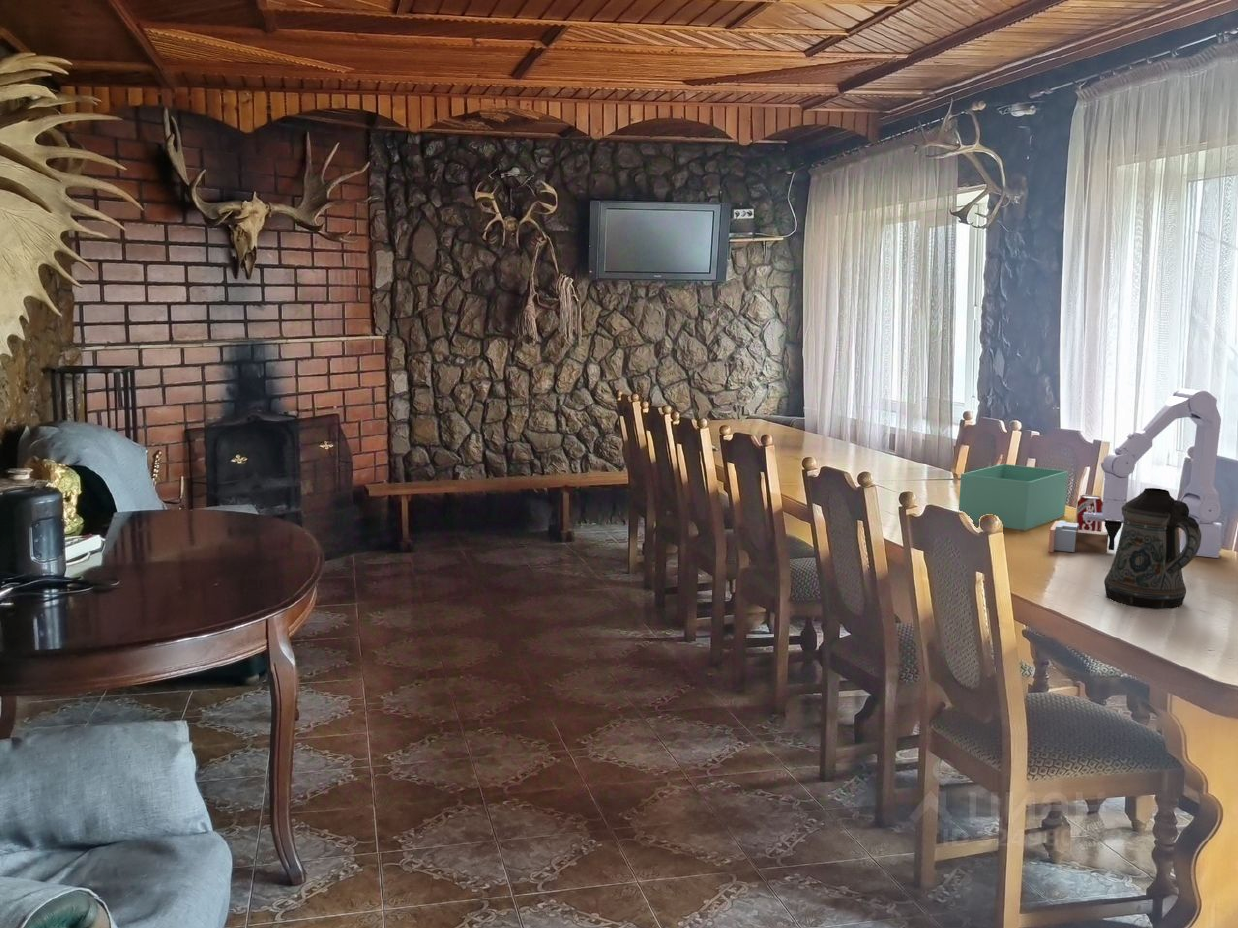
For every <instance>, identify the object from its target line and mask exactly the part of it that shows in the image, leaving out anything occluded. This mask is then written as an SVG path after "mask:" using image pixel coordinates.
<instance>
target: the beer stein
mask: <svg viewBox="0 0 1238 928" xmlns="http://www.w3.org/2000/svg"><path fill="white" fill-rule="evenodd" d="M1121 509H1122V515H1123V517H1124V523H1122V526H1121V531H1120V536H1119V540H1118V544H1117V548H1116V552H1115V555H1114V558H1113V561H1112V564H1111V567H1110V569H1109V571H1108V573H1107V575H1106V576H1105V578H1104V581H1103V584H1104V590H1105V597H1106V599H1108V600H1110V599H1111V601H1112V600H1113V601H1112V602H1114V601H1116V602H1115V603H1117V602H1118V603H1117V604H1121V603H1122V605H1124V604H1125V606H1130V607H1134V608H1141V609H1149V608H1150V609H1151V610H1152V609H1153V610H1171V609H1172V610H1173V609H1178V608H1180V607H1181V606H1183V603H1184V600H1185V597H1186V596H1187V595H1186V594H1187V587H1186V585H1185V582H1184V577H1183V570H1182V569H1184V568H1185V567H1186V566H1187V565H1189V564H1190V563H1191V561H1192V560H1193V559H1194V558H1195V557H1196V556H1195V555H1196V554H1197V552H1198V550H1199V547H1200V544H1201V531H1200V528H1199V524H1198V523H1197V522H1196V520H1195V519H1194V518H1192V517H1190V516H1188V515H1189V508H1188V506H1187V504H1186V503H1184V502H1181V501H1180V500H1176V499H1175V498H1173V497H1172V496H1171V494H1170V491H1169V490H1167V489H1162V488H1155V487H1148V488H1144V490H1143V491H1142V492H1141V493H1139V495H1137V496H1136V497H1134V498H1132V499H1130V500H1129V501H1128V500H1127V503H1126V504H1125V505H1123V506H1122V508H1121ZM1179 528H1180V529H1181V531H1182V530H1183V531H1184V532H1185V535H1186V544H1185V547H1184V549H1183V550H1182V552H1181V553H1180V546H1181V538H1180V529H1179ZM1177 607H1178V608H1177Z"/></svg>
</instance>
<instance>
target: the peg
mask: <svg viewBox="0 0 1238 928" xmlns="http://www.w3.org/2000/svg"><path fill="white" fill-rule="evenodd" d="M1108 547H1109V535H1108V533H1107V531H1101V532H1099V531H1088V530H1077V531H1076V543H1075V552H1076V551H1079V552H1087V553H1096V554H1097V553H1098V554H1105V555H1107V554H1108Z"/></svg>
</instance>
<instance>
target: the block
mask: <svg viewBox="0 0 1238 928" xmlns="http://www.w3.org/2000/svg"><path fill="white" fill-rule="evenodd" d="M1058 521H1059V522H1058V524H1057V525H1056V531H1055V544H1054V551H1060V552H1068V553H1069V552H1070V553H1071V552H1072V553H1075V552H1076V550H1075V543H1076V531H1077V530H1079V523H1076V522H1068V521H1067V520H1061V519H1060V520H1058Z"/></svg>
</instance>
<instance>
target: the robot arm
mask: <svg viewBox="0 0 1238 928" xmlns="http://www.w3.org/2000/svg"><path fill="white" fill-rule="evenodd" d="M1217 402H1218V400H1217V398H1216V397H1215V396H1213V394H1211V393H1210V392H1209V391H1207V390H1196V389H1190V388H1185V387H1182V388H1178V389H1177V390H1176V391H1175V392H1174V393H1173V394H1172V395H1171V396H1169V397H1168V398H1167V399H1166V402H1165V404H1164V405H1163V407H1162V408H1161V409H1160V410H1159V411H1157V413H1156V415H1154V417H1152V419H1151V420H1150V421H1149V422H1148V424H1147V425H1146V426H1144V428H1143V429H1142V430H1140V431H1134V432H1132V433H1129V434H1128V435H1127V436H1126V437H1127V439H1126V440H1125V441H1124V442H1123V443H1122V444H1121V445H1119V447H1116V448H1115V449H1114V452H1111V453H1109V454H1107V455H1106V456H1105V457H1104V458H1103V461H1102V462H1101V463H1100V466H1101V469H1102V471H1103V473H1104V478H1103V479H1104V482H1103V495H1102V496H1103V497H1102V502H1103V507H1102V513H1089V512H1084V517H1083V520H1085V521H1088V520H1091V521H1102V523H1104V527H1105V529H1106V532H1107V533H1108V547H1107V551H1114V550H1115V538H1116V536H1117V534H1118V533H1119V531H1120V530H1121V529H1122V526H1123V523H1124V517H1123V515H1122V509H1121V508H1122V506H1123V505H1125V504H1126V503H1127V502H1128V489H1129V478H1130V477H1129V476H1130V475H1131V474H1133V473H1134V470H1135V467H1136V464H1137V462H1139V461H1140V459H1141V458H1142V457H1143V456H1144V455H1145V454H1146V453H1148V451H1149V450H1150V449H1151V448H1152V447H1153V440H1154V439H1155V438H1157V436H1158V435H1159V434H1160V433H1162V432H1163V431H1164V430H1165V429H1166V428H1167V427H1168V426H1170V424H1172V423H1173V422H1174V421H1175V420H1177V419H1182V418H1183V419H1184V418H1189V419H1190V420H1191V421H1192V422H1193V423H1194V424H1195V425H1196V426H1195V427H1196V431H1195V437H1194V439H1195V440H1194V445H1193V447H1194V448H1193V455H1192V463H1191V473H1190V480H1189V484H1187V485H1186V487H1184V489H1183V493H1182V496H1181V498H1180V499H1179V501H1181V502H1184V503H1186V504H1187V506H1188V508H1189V515H1188V516H1190V517H1192V518H1194V519H1195V520H1196V522H1197V523H1198V524H1199V528H1200V531H1201V544H1200V547H1199V550H1198V552H1197V554H1196V555H1195V557H1196V556H1198V557H1204V558H1205V557H1207V558H1216V559H1219V558H1220V552H1221V551H1222V544H1221V538H1222V530H1223V529H1222V528H1223V525H1222V524H1223V523H1222V522H1215V521H1216V520H1217V519H1218V518H1219V517H1220V515H1221V510H1222V508H1221V504H1220V502H1219V498H1220V497H1219V496H1220V495H1219V492H1218V491H1217V490H1216V488H1215V486H1214V482H1215V474H1216V464H1217V457H1218V449H1219V440H1220V439H1219V438H1220V433H1221V423H1222V418H1221V415H1220V413H1219V410H1218V407H1217ZM1180 537H1181V538H1180V553H1181V552H1182V550H1183V549H1184V547H1185V544H1186V535H1185V532H1184V531H1183V530H1182V529H1181V536H1180Z"/></svg>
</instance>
